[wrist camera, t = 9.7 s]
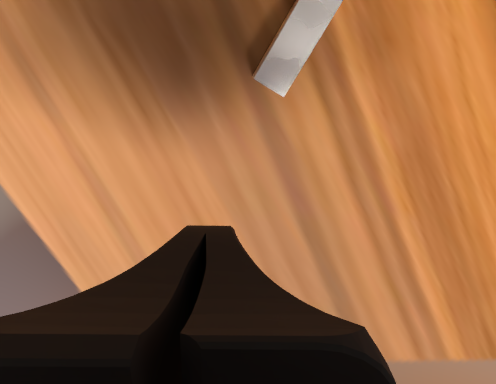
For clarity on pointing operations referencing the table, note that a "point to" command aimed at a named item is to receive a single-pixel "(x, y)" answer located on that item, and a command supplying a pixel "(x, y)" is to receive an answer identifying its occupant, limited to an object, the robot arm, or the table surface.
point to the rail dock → (294, 43)
